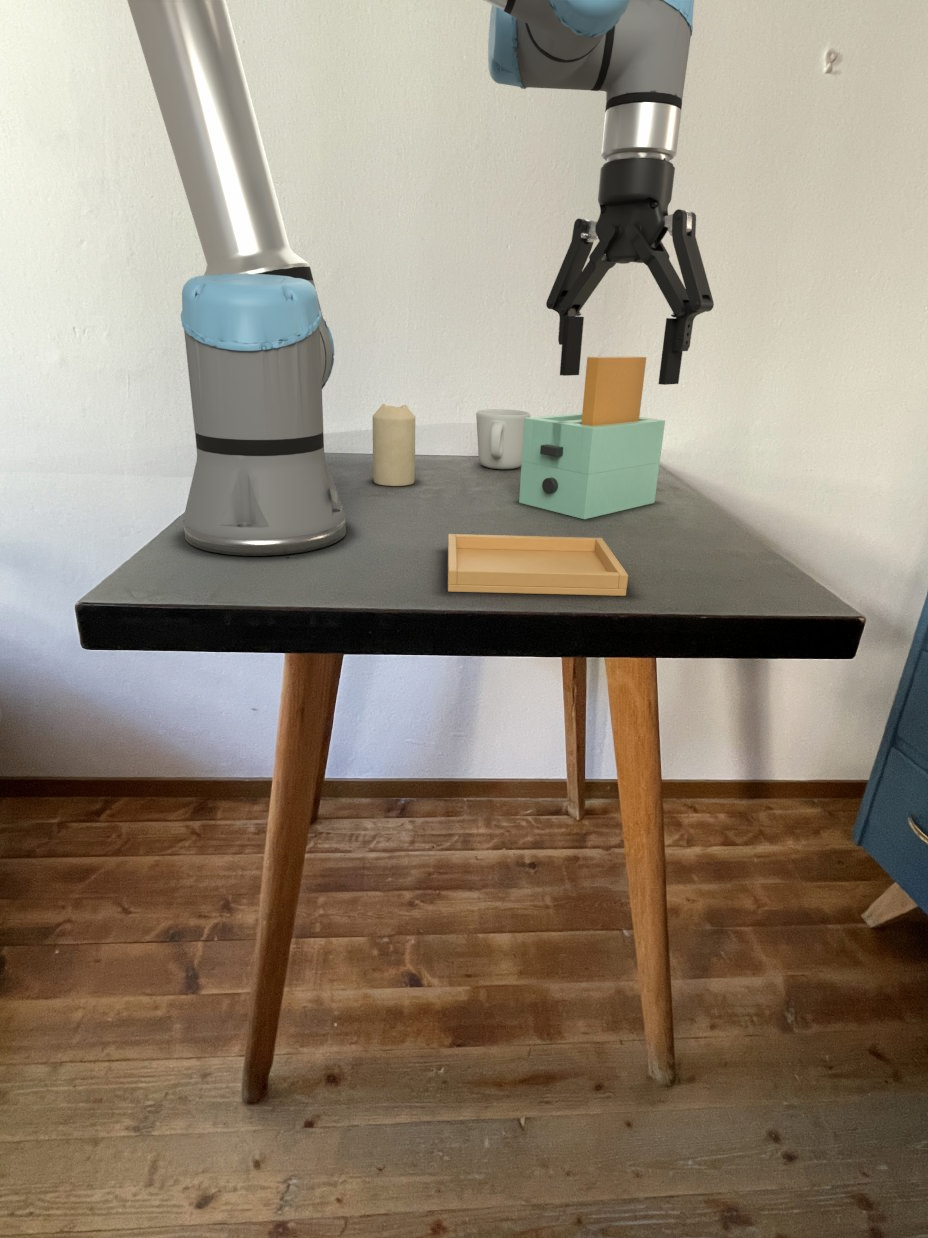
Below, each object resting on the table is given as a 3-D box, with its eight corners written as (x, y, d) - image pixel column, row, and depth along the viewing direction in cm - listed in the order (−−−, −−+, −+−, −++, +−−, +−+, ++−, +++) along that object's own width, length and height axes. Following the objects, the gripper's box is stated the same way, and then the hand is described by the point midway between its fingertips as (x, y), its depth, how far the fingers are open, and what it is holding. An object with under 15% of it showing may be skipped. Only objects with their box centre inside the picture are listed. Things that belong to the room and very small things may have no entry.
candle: (416, 478, 101) (417, 402, 97) (413, 487, 96) (413, 407, 92) (376, 477, 101) (375, 401, 97) (370, 485, 96) (369, 405, 92)
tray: (447, 591, 59) (448, 570, 58) (447, 552, 69) (448, 533, 69) (625, 596, 60) (628, 575, 59) (600, 556, 70) (602, 537, 69)
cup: (521, 477, 104) (524, 418, 101) (465, 473, 105) (467, 415, 102) (530, 464, 114) (533, 410, 111) (479, 460, 115) (481, 407, 112)
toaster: (512, 504, 89) (517, 418, 85) (590, 488, 98) (597, 411, 95) (577, 521, 82) (586, 428, 78) (654, 502, 92) (665, 420, 88)
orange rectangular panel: (577, 467, 85) (587, 356, 80) (623, 459, 91) (635, 356, 86) (588, 469, 84) (598, 357, 79) (634, 461, 89) (646, 357, 85)
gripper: (772, 152, 70) (734, 386, 78) (566, 180, 86) (553, 371, 94) (732, 137, 65) (697, 389, 73) (523, 170, 81) (513, 372, 89)
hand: (616, 379), depth 84 cm, fingers open, 13 cm apart
